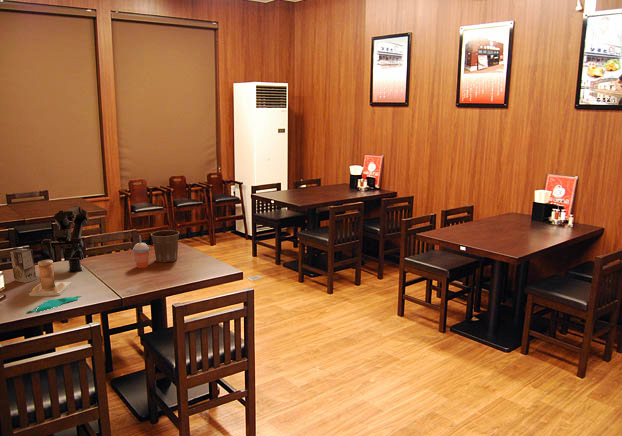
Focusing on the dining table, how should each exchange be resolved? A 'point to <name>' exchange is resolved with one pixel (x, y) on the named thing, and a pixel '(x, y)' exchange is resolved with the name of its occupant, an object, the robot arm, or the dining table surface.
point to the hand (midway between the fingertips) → (60, 258)
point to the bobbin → (46, 275)
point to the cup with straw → (141, 254)
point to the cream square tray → (58, 291)
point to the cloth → (54, 303)
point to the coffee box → (23, 265)
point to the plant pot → (165, 245)
